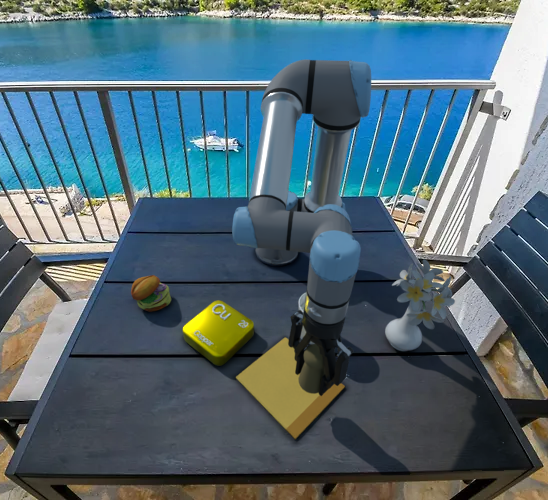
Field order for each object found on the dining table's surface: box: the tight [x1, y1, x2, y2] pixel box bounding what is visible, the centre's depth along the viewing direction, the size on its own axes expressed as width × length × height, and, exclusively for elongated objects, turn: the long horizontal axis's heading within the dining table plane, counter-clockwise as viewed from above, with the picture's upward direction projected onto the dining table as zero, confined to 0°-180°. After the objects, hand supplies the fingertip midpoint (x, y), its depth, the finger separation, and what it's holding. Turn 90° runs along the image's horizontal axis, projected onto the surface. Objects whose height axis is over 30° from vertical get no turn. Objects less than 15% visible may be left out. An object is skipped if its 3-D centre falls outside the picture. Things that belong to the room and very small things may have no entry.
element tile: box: [181, 299, 255, 367], centre depth 96 cm, size 15×15×5 cm
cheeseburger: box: [130, 274, 172, 313], centre depth 105 cm, size 10×11×10 cm
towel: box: [235, 337, 346, 440], centre depth 86 cm, size 18×20×1 cm
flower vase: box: [384, 259, 456, 352], centre depth 87 cm, size 13×18×25 cm
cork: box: [298, 344, 325, 394], centre depth 74 cm, size 6×6×11 cm
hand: (311, 380), depth 77 cm, fingers closed on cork, 6 cm apart
